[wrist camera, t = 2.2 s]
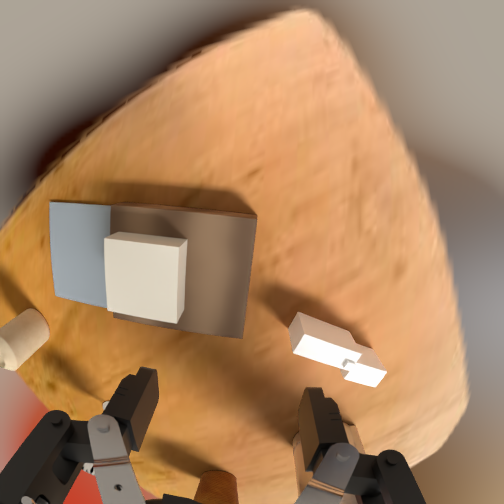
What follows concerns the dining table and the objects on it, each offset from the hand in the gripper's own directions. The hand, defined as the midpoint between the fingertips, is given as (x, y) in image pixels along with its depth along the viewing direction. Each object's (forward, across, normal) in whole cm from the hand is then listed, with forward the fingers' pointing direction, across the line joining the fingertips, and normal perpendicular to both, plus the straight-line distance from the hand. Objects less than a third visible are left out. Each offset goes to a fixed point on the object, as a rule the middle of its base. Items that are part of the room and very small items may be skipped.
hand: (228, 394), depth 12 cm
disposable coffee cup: (+18, 0, +40) cm, 44 cm away
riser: (+18, +6, 0) cm, 19 cm away
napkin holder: (+19, -11, +8) cm, 23 cm away
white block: (+15, +9, 0) cm, 17 cm away
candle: (+18, +29, +12) cm, 37 cm away
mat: (+18, +19, 0) cm, 26 cm away
